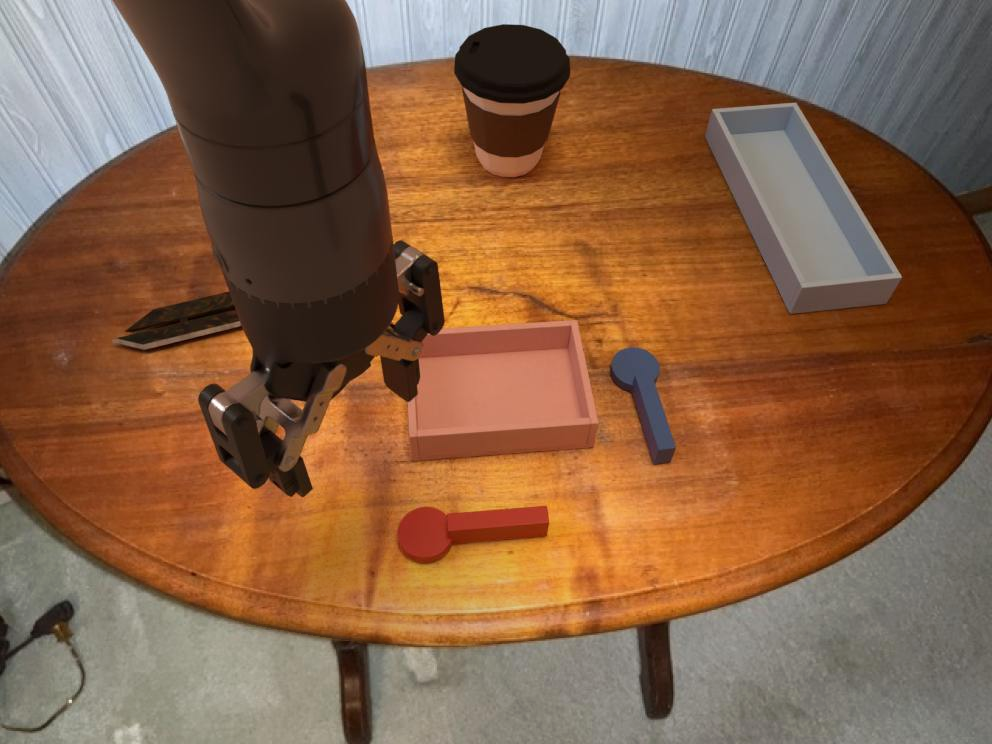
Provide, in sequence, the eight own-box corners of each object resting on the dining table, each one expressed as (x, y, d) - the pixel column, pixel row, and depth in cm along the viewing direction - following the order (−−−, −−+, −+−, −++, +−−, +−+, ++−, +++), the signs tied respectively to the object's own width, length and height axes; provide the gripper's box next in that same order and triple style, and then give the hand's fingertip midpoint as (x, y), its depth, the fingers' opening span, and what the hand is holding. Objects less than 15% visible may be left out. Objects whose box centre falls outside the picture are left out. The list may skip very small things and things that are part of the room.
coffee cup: (444, 184, 82) (440, 78, 73) (469, 118, 89) (468, 13, 79) (551, 201, 81) (561, 96, 71) (568, 134, 88) (580, 29, 78)
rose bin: (573, 345, 70) (577, 319, 68) (593, 447, 64) (598, 423, 61) (407, 356, 69) (404, 330, 66) (411, 461, 63) (409, 437, 60)
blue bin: (886, 303, 74) (902, 277, 71) (789, 314, 73) (802, 287, 70) (786, 130, 89) (796, 102, 86) (704, 136, 88) (712, 108, 85)
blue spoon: (686, 460, 64) (693, 445, 62) (637, 466, 63) (641, 452, 62) (650, 352, 70) (655, 335, 68) (605, 357, 70) (608, 340, 68)
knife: (115, 360, 68) (108, 349, 67) (115, 303, 72) (109, 292, 71) (412, 305, 73) (411, 295, 72) (398, 254, 76) (397, 243, 75)
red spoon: (542, 503, 61) (544, 489, 60) (549, 553, 59) (552, 539, 57) (397, 514, 60) (395, 500, 59) (399, 565, 58) (396, 552, 56)
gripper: (228, 380, 31) (303, 561, 44) (477, 188, 37) (478, 395, 50) (110, 284, 33) (213, 481, 46) (361, 121, 40) (390, 333, 53)
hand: (351, 436), depth 48 cm, fingers open, 8 cm apart
